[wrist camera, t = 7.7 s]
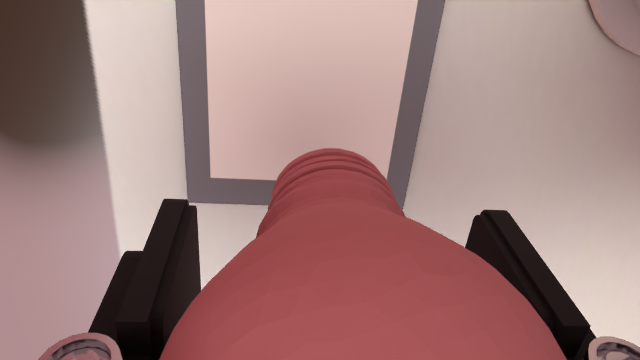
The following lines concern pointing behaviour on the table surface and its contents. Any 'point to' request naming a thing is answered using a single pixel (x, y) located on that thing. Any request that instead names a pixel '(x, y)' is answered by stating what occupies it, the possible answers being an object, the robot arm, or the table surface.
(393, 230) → the light bulb
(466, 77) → the table surface
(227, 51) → the gray rectangular picture frame
